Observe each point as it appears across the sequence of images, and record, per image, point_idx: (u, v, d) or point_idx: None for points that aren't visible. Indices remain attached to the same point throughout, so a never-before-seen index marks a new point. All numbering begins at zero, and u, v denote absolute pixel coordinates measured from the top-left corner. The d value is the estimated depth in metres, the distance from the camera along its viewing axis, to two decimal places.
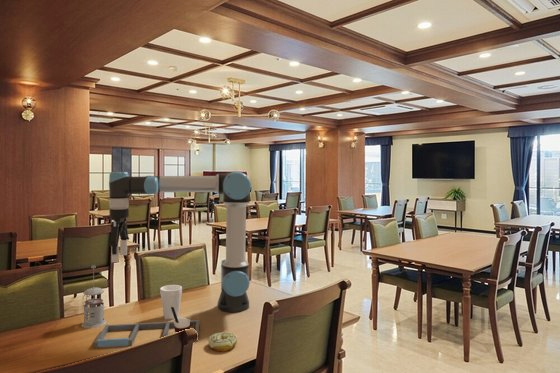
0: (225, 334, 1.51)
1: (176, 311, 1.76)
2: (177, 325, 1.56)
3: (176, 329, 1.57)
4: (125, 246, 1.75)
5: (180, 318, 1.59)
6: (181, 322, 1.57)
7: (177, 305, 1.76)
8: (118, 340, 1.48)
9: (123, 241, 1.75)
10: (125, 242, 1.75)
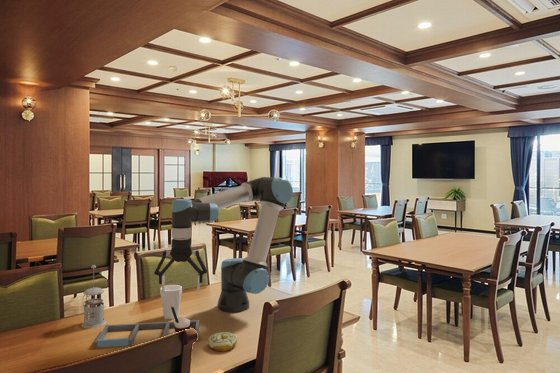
0: (225, 334, 1.51)
1: (176, 311, 1.76)
2: (177, 325, 1.56)
3: (176, 329, 1.57)
4: (197, 282, 1.58)
5: (180, 318, 1.59)
6: (181, 322, 1.57)
7: (177, 305, 1.76)
8: (118, 340, 1.48)
9: None
10: None
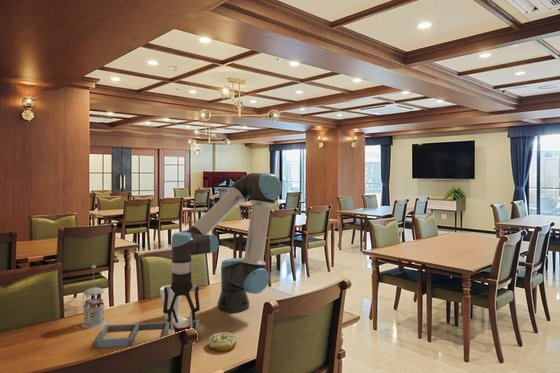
0: (225, 334, 1.51)
1: (176, 311, 1.76)
2: (177, 325, 1.56)
3: (176, 329, 1.57)
4: (190, 320, 1.59)
5: (180, 318, 1.59)
6: (181, 322, 1.57)
7: (177, 305, 1.76)
8: (118, 340, 1.48)
9: (190, 313, 1.59)
10: (190, 315, 1.58)
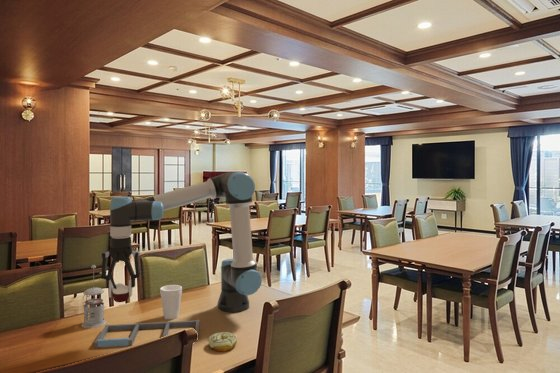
0: (225, 334, 1.51)
1: (176, 311, 1.76)
2: (114, 291, 1.52)
3: (114, 295, 1.52)
4: None
5: (119, 284, 1.54)
6: (119, 288, 1.53)
7: (177, 305, 1.76)
8: (118, 340, 1.48)
9: None
10: (129, 281, 1.54)
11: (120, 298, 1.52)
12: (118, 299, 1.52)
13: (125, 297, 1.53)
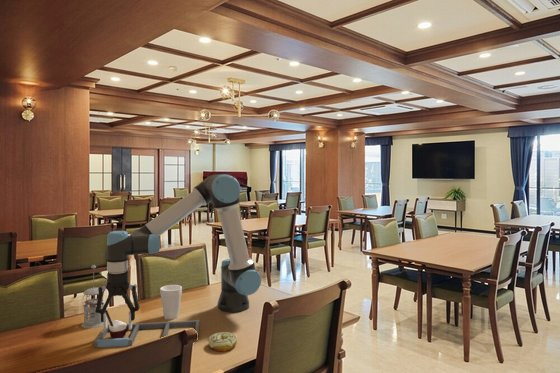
0: (225, 334, 1.51)
1: (176, 311, 1.76)
2: (111, 329, 1.52)
3: (111, 333, 1.53)
4: None
5: (115, 321, 1.55)
6: (116, 325, 1.53)
7: (177, 305, 1.76)
8: (118, 340, 1.48)
9: None
10: None
11: (117, 336, 1.53)
12: (115, 336, 1.52)
13: (122, 334, 1.54)
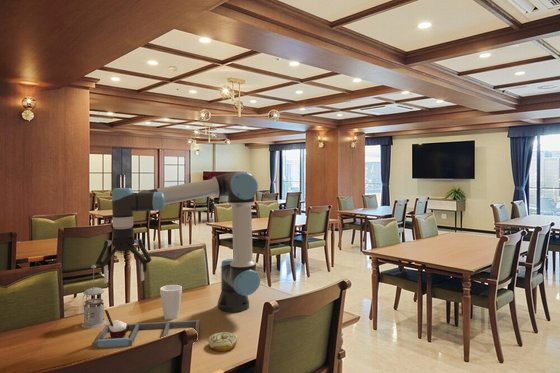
0: (225, 334, 1.51)
1: (176, 311, 1.76)
2: (111, 329, 1.52)
3: (111, 333, 1.53)
4: (141, 271, 1.57)
5: (116, 321, 1.55)
6: (116, 325, 1.53)
7: (177, 305, 1.76)
8: (118, 340, 1.48)
9: (141, 264, 1.58)
10: (141, 266, 1.57)
11: (117, 336, 1.53)
12: (115, 337, 1.52)
13: (122, 334, 1.54)
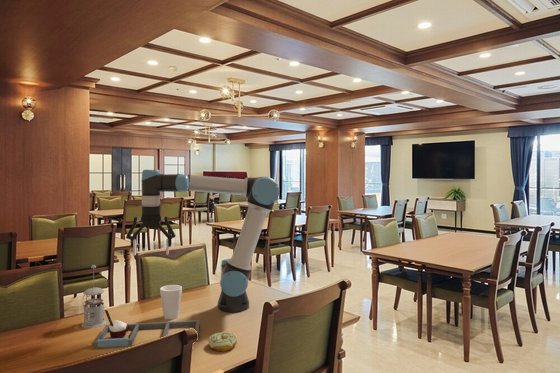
0: (225, 334, 1.51)
1: (176, 311, 1.76)
2: (111, 329, 1.52)
3: (111, 333, 1.53)
4: (166, 245, 1.73)
5: (116, 321, 1.55)
6: (116, 325, 1.53)
7: (177, 305, 1.76)
8: (118, 340, 1.48)
9: None
10: (166, 241, 1.72)
11: (117, 336, 1.53)
12: (115, 337, 1.52)
13: (122, 334, 1.54)
